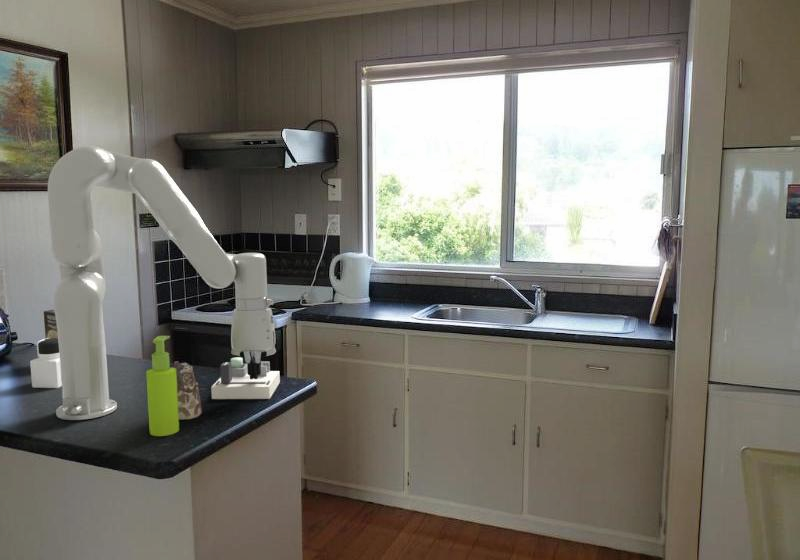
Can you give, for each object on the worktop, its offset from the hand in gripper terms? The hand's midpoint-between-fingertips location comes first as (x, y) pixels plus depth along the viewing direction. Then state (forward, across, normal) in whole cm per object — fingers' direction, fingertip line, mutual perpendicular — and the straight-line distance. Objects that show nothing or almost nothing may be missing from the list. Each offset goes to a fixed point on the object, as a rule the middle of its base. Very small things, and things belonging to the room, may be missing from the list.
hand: (254, 377), depth 165 cm
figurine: (+5, +13, +14) cm, 20 cm away
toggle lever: (0, -1, -8) cm, 8 cm away
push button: (0, +6, -8) cm, 11 cm away
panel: (+4, +3, -4) cm, 7 cm away
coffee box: (+4, +61, -29) cm, 68 cm away
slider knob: (+1, +7, 0) cm, 7 cm away
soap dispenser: (+4, +14, +24) cm, 28 cm away
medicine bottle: (+4, +55, -10) cm, 56 cm away
